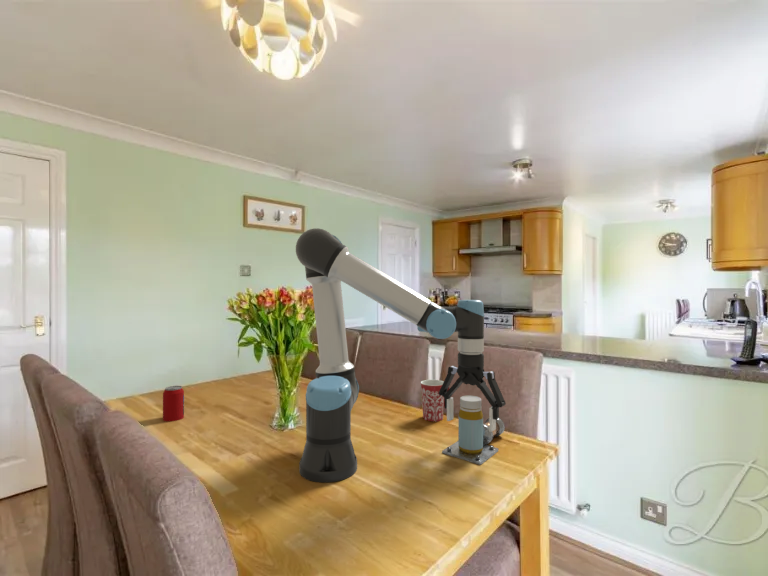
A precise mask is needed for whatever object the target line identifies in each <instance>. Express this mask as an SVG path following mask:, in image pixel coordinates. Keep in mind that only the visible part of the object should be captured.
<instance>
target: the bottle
mask: <svg viewBox="0 0 768 576" xmlns="http://www.w3.org/2000/svg"><path fill="white" fill-rule="evenodd" d="M482 402H483V401H482V398H481V397H480V396H476V395H462V396H460V398H459V407H460V409H459V411H458V440H457V441H458V445H459V448H460V450H461V451H463V452H465V453H469V454H477V453H480V452H481V451H482V450H483V424H484V413H483V411H482V404H483V403H482Z"/></svg>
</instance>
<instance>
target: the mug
mask: <svg viewBox="0 0 768 576" xmlns="http://www.w3.org/2000/svg"><path fill="white" fill-rule="evenodd" d="M443 382H444V381H443V380H441V379H440V380H438V379H426V380H421V381H420V386H421V405H422V407H421V408H422V419H423V418H424V419H423V420H425V421H427V420H428V422H434V421H435V422H440V420H441V421H443V419H444V409H445V398H444V397H443V396H442V395H439V391H440V389H441V387H442V385H443ZM449 389H450V387H449V388H448V390H449ZM448 390H447V391H448Z"/></svg>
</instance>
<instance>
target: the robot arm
mask: <svg viewBox="0 0 768 576" xmlns="http://www.w3.org/2000/svg"><path fill="white" fill-rule="evenodd" d="M296 240H297V241H296V243H295V255H296V258H297V259H298V261H299V262H300V264H301V265H302V266H304V269H305V278H306V281H307V282H309V283H310V284H311V286H312V289H311V290H312V297H313V306H314V307H313V308H314V319H315V327H316V338H317V345H318V346H317V348H318V356H319V358H318V359H319V366H318V367H317V368H316V369H315V378H314V379H312V380H311V381H309V382H308V384H307V386H306V392H305V401H306V402H305V405H306V406H305V408H306V409H305V414H306V415H305V417H306V418H305V423H306V425H305V430H306V431H305V434H306V435H305V436H306V437H305V438H306V441H305V445H304V448H303V452H302V456H301V458H300V460H299V467H298V469H299V475H300V476H301V477H302V478H304V479H306V480H307V481H310V482H315V483H335V482H340V481H342V480H346V479H348V478H351V476H353V475H354V474H355V473H356V472H357V470H358V458H357V455H356V453H355V449H354V445H353V443H352V439H351V430H352V429H351V427H352V426H351V425H352V423H351V421H352V419H351V415H352V413H351V412H352V409H354V408H353V407H354V405H355V404H356V402H357V400H358V397H359V393H360V386H359V383H358V380H357V378H356V370H355V365H354V364H353V363H352V362H351V361H350V360H349V352H348V351H349V349H348V341H347V332H346V322H345V321H346V320H345V311H344V301H343V293H342V291H343V290H342V282H343V283H344V284H345V285H348V286H349V287H352V289H354V290H355V291H357V292H360V293H361V294H363V295H365V296H366V297H368V298H369V299H371V300H372V301H375V302H377V303H378V304H380V305H381V306H383V307H385V308H386V309H388V310H390V311H391V312H393V313H395V314H397V315H398V316H401V317H402V318H403V319H406V320H407V321H408V322H410V323H412V324H414V325H415V326H416V327H417V331H418V332H422V333H429V335H430V336H432V337H433V338H435V339H438V340H445V339H447V338H450V337H451V336H453V334H454V333H457V351H458V353H457V365H458V366H457V367H456V365H450V366H448V368H447V375H446V376H445V379H444V382H443V385H442V387H441V389H440V391H439V395H442V396H443V397H444V398H445V407H444V409H446V422H451V421H453V420H454V397H453V395H454V394H455V392H456V391H457V390H458V389H459V388H460V387H461V385H462V384H464V385H470V386H476V387H477V388H478V389H479V390H480V391H481V393H482V394H483V396H484V398H485V399H486V400H487V402H488V403H489V405H490V406H491V407H489V409H488V410H489V413H488V415H489V417H488V418H489V431H491V432H492V431H494V430H495V429H496V420H497V419H498V418H500V408H503V407H504V406H506V404H507V403H506V400H505V398H504V396H503V394H502V391H501V389H500V387H499V385H498V382H497V380H496V373H495V372H494V371H493V370H491V371H485V369H484V367H485V355H484V353H483V352H485V338H484V337H485V336H484V335H485V311H484V309H485V308H484V307H485V306H484V302H483V301H482V300H479V299H459V300H458V301H457V305H456V306H440V305H439V304H437V303H436V302H433V301H432V300H430V299H429V298H426V297H425V296H423V295H422V294H421V293H419V292H416V291H415V290H414V289H412V288H410V287H408V286H407V285H405V284H403V283H401V282H400V281H398V280H397V279H394V278H393V277H391V276H390V275H389V274H386V273H385V272H383V271H381V270H379V269H378V268H376V267H375V266H373V265H371V264H370V263H368V262H365V261H364V260H362V259H360V258H359V257H357V256H356V255H355V254H352V253H350V251H349V247H348V246H346V245H345V244H343V243H342V241H341V240H340V239H339V238H338V237H337V236H335V235H333V234H332V233H331V232H329V231H328V230H326V229H323V228H317V227H316V228H310V229H307V230H305V231H304V232H303V233H301V235H299V237H298V239H296ZM456 374H457V375H458V378H457V379H456V380H455V382H453V384H452V386H451V383H452V381H453V379H454V377H455V375H456ZM484 378H485V379H486V380H487V383H488V385H487V383H486V381H485V380H484ZM450 386H451V387H450ZM488 386H489V387H488ZM448 388H449V390H448ZM489 388H490V389H489ZM447 390H448V391H447Z"/></svg>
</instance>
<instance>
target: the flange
mask: <svg viewBox="0 0 768 576" xmlns="http://www.w3.org/2000/svg"><path fill="white" fill-rule="evenodd" d="M505 428H506V427H505V423H504V421H503V420H502V419H501V418H500V417H499V418H498V419H497V420H496V429H495V430H494V431H492V432H491V431H489V417H488V418H486V420H485V421H484V423H483V450H482V451H481V452H480V453H477V454H469V453H465V452H463V451H461V450H460V448H459V445H458V440H457V441H455V442H454V443H452V444H451V445H449V446H447V447H446V448H445V449H442V451H441V453H442V454H444V455H447V456H450V457H453V458H457V459H460V460H463V461H467V462H469V463H473V464H476V465H478V466H481V465H483V464H484V463H485V462H487V461H488V460H489V459H490V458H492V457H493V456H494V455H496V454H497V453H498V452H499V448H497V447H495V446H494V445H492V444H490V445H488V444H489V443H491V442H492V441H493V439H494V436H496V438H497V437H499V436H501V435H502V434H504V431H505Z"/></svg>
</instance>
